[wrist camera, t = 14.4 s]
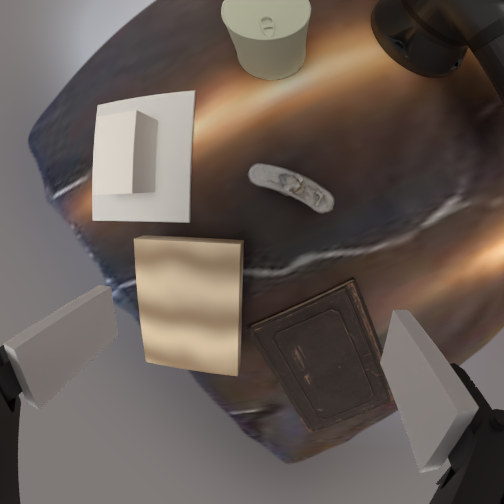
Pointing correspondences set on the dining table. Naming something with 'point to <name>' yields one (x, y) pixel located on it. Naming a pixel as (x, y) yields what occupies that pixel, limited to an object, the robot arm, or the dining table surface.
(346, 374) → the hardcover book
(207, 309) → the wavy beige panel
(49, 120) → the dining table surface
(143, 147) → the stand
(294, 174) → the flask
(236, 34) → the can
